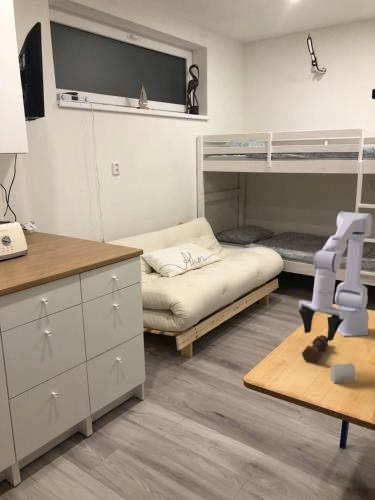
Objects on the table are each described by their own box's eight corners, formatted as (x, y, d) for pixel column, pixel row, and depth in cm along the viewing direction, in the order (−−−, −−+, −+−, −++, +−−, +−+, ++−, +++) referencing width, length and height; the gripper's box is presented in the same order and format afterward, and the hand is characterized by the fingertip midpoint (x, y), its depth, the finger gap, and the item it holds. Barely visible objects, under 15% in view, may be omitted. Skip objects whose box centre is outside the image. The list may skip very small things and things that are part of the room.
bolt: (325, 349, 138) (312, 367, 126) (312, 340, 140) (298, 356, 128) (335, 338, 136) (322, 355, 123) (322, 328, 137) (309, 343, 125)
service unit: (350, 377, 118) (351, 363, 116) (354, 381, 115) (355, 367, 114) (330, 379, 117) (331, 364, 116) (333, 383, 115) (335, 368, 114)
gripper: (294, 287, 122) (290, 331, 124) (339, 298, 111) (333, 346, 113) (308, 285, 127) (303, 327, 129) (352, 295, 116) (346, 341, 118)
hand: (318, 336), depth 121 cm, fingers open, 7 cm apart
